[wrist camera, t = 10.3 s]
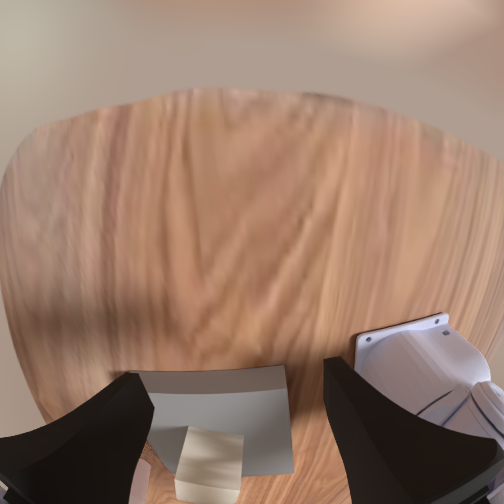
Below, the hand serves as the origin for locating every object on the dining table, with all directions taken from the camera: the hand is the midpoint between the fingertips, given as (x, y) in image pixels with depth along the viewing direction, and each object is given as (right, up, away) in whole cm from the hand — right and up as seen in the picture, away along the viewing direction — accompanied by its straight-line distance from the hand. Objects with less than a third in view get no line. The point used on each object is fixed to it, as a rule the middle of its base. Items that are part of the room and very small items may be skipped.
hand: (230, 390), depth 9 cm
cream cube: (-3, -12, +11) cm, 17 cm away
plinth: (-3, -12, +14) cm, 18 cm away
